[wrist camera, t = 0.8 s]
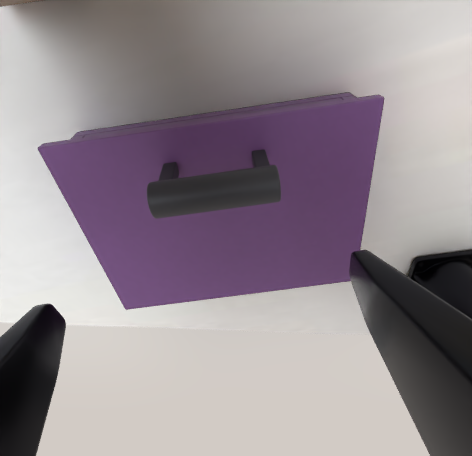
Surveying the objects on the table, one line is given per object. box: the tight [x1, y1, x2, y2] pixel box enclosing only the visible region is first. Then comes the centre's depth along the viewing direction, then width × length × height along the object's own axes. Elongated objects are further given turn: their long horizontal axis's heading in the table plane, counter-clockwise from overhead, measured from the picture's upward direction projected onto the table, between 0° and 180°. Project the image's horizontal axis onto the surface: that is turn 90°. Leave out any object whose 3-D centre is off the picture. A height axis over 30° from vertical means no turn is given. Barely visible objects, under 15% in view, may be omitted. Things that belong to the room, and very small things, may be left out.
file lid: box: [38, 95, 384, 310], centre depth 17 cm, size 12×17×4 cm
